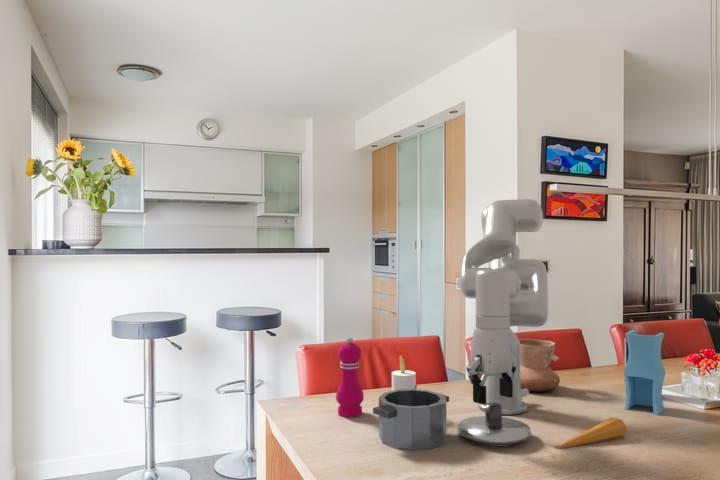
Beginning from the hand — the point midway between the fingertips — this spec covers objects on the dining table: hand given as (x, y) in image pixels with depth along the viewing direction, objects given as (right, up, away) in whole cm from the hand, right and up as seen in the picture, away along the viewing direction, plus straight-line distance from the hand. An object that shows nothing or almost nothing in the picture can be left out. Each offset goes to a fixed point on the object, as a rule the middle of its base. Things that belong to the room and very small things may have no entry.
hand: (493, 399), depth 120 cm
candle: (-18, -9, +19) cm, 28 cm away
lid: (0, -9, +1) cm, 9 cm away
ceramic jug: (+23, -10, +43) cm, 49 cm away
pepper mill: (-33, -10, +19) cm, 39 cm away
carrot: (+21, -9, -2) cm, 23 cm away
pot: (-18, -9, +1) cm, 20 cm away
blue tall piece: (+46, -9, +21) cm, 51 cm away
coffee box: (+52, -9, +34) cm, 63 cm away
